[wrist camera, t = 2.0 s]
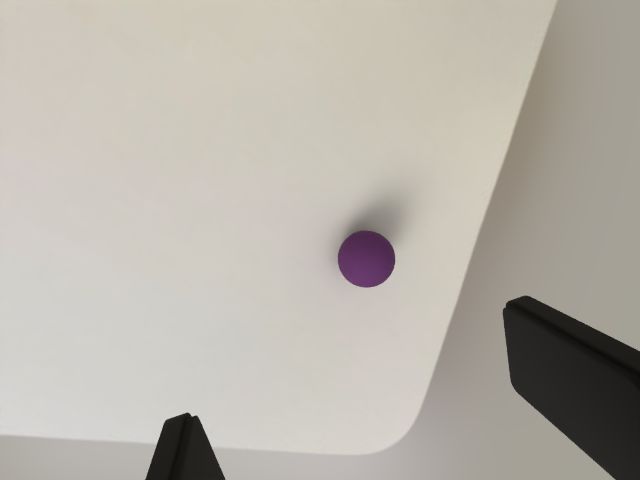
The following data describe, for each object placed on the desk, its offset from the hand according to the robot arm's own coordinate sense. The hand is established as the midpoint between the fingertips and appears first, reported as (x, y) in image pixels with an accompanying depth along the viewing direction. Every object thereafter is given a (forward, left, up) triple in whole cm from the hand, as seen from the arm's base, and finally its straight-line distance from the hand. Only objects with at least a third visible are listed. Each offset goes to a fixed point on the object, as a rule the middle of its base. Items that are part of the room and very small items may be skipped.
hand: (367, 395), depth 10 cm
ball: (-4, +3, -14) cm, 15 cm away
